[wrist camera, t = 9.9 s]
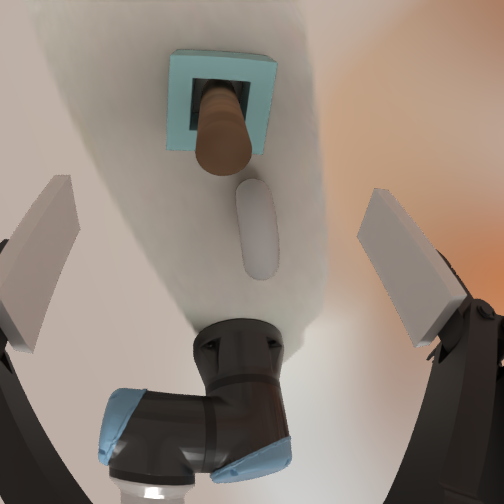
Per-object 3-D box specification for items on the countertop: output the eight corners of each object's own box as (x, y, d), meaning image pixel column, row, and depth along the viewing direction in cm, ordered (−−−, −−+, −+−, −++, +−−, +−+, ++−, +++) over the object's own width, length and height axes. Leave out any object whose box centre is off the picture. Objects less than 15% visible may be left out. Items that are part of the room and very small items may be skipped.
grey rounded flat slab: (230, 163, 32) (237, 220, 25) (263, 159, 32) (282, 214, 25) (240, 239, 39) (249, 304, 31) (268, 235, 39) (284, 299, 31)
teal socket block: (255, 134, 30) (262, 154, 26) (172, 130, 29) (166, 150, 25) (267, 55, 25) (277, 63, 21) (177, 49, 24) (170, 55, 20)
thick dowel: (232, 108, 28) (248, 177, 18) (200, 106, 28) (193, 174, 17) (236, 78, 26) (255, 127, 16) (203, 76, 26) (196, 123, 15)
